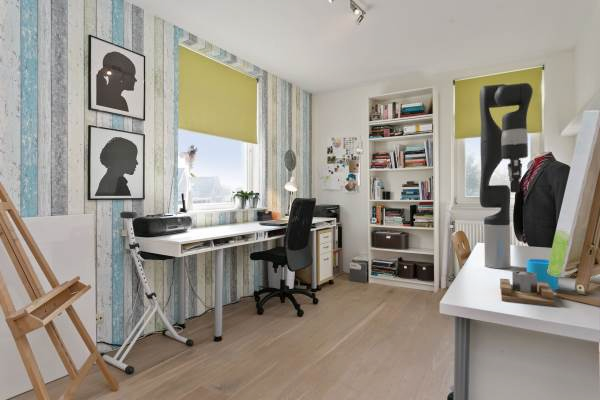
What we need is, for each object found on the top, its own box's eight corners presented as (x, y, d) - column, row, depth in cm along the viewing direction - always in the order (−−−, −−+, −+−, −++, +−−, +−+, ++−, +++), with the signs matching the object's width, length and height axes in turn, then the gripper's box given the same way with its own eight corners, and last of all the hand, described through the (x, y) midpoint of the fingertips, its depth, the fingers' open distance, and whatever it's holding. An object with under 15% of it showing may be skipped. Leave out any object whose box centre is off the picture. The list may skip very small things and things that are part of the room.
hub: (512, 287, 105) (512, 270, 105) (535, 289, 102) (535, 272, 102) (513, 291, 100) (513, 274, 100) (537, 294, 97) (537, 276, 97)
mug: (559, 291, 105) (558, 264, 105) (526, 288, 109) (526, 262, 109) (557, 283, 115) (556, 258, 115) (527, 280, 119) (527, 256, 119)
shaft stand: (500, 287, 111) (499, 266, 111) (546, 291, 105) (545, 269, 105) (501, 300, 96) (501, 277, 96) (555, 306, 91) (554, 281, 91)
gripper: (500, 147, 125) (501, 192, 125) (502, 142, 112) (502, 192, 112) (525, 145, 121) (526, 192, 121) (529, 140, 109) (530, 192, 109)
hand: (515, 192), depth 117 cm, fingers open, 8 cm apart
